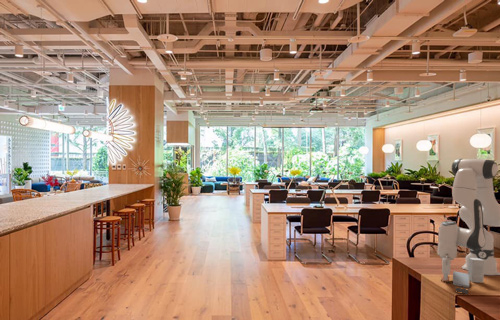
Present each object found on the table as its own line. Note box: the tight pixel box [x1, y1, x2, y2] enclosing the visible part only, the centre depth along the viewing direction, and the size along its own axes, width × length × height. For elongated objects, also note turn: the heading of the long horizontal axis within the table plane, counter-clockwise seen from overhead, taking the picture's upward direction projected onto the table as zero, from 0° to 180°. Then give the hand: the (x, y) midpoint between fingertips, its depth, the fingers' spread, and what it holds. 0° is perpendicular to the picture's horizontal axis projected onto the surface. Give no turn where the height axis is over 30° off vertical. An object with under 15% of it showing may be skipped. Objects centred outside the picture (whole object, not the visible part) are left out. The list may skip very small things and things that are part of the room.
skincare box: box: [467, 258, 485, 284], centre depth 187 cm, size 6×4×12 cm
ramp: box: [452, 270, 470, 289], centre depth 182 cm, size 12×7×4 cm, turn 150°
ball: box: [441, 274, 450, 282], centre depth 184 cm, size 4×4×4 cm
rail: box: [455, 287, 469, 295], centre depth 167 cm, size 1×5×2 cm, turn 60°
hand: (445, 278), depth 184 cm, fingers closed on ball, 4 cm apart
